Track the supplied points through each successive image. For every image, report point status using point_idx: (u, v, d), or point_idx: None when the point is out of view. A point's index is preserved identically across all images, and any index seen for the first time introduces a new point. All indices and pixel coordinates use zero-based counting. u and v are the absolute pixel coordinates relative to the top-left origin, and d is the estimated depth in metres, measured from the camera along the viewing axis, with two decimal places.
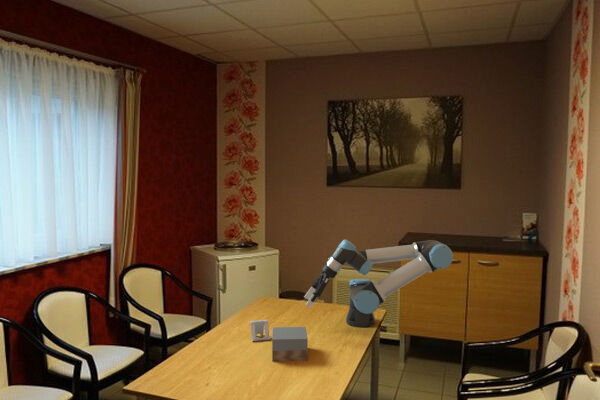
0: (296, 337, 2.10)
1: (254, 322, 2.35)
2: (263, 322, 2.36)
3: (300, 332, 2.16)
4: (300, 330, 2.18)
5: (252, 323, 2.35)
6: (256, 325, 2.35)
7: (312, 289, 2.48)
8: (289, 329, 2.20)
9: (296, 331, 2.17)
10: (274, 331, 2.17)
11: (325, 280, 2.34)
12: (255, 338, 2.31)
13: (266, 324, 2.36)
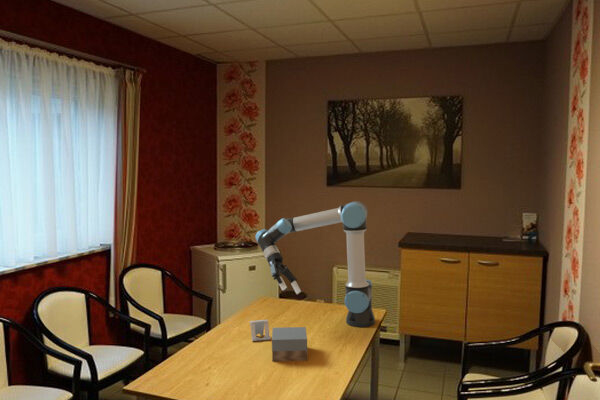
0: (296, 337, 2.10)
1: (254, 322, 2.35)
2: (263, 322, 2.36)
3: (300, 332, 2.16)
4: (300, 331, 2.18)
5: (252, 323, 2.35)
6: (256, 325, 2.35)
7: (293, 283, 2.44)
8: (289, 329, 2.19)
9: (296, 331, 2.17)
10: (274, 331, 2.17)
11: (270, 263, 2.38)
12: (255, 338, 2.31)
13: (266, 324, 2.36)
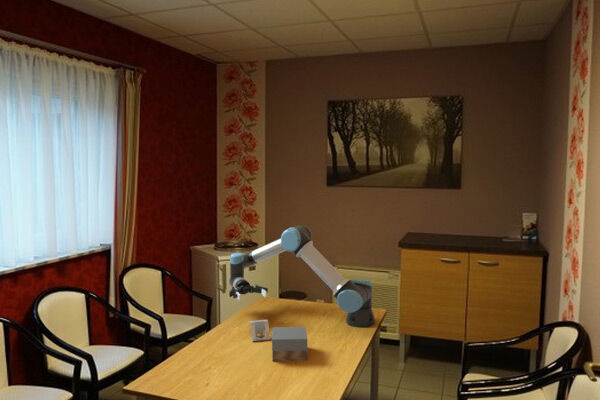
0: (296, 337, 2.10)
1: (254, 322, 2.35)
2: (263, 322, 2.36)
3: (300, 332, 2.16)
4: (300, 330, 2.18)
5: (252, 323, 2.35)
6: (256, 325, 2.35)
7: (262, 292, 2.51)
8: (289, 329, 2.20)
9: (296, 331, 2.17)
10: (274, 331, 2.17)
11: None
12: (255, 338, 2.31)
13: (266, 324, 2.36)
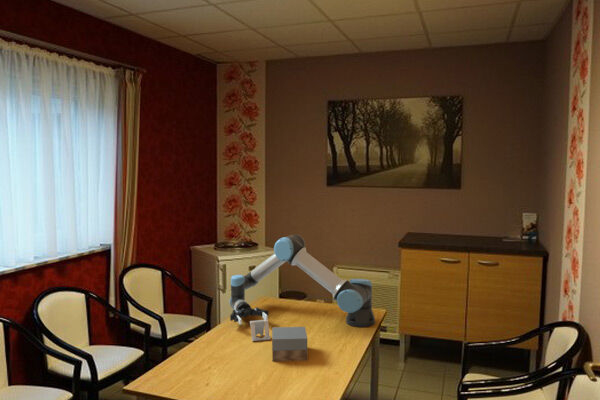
0: (296, 336, 2.11)
1: (254, 322, 2.35)
2: (263, 322, 2.36)
3: (300, 332, 2.16)
4: (300, 330, 2.18)
5: (252, 323, 2.35)
6: (256, 325, 2.35)
7: (262, 315, 2.51)
8: (288, 329, 2.20)
9: (296, 331, 2.18)
10: (274, 331, 2.17)
11: None
12: (255, 338, 2.31)
13: (266, 324, 2.36)
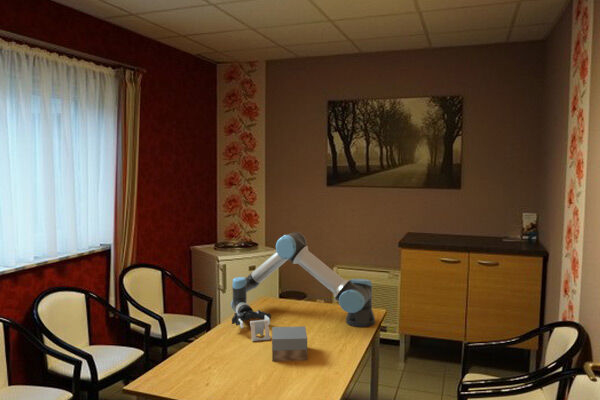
0: (296, 336, 2.10)
1: (254, 322, 2.35)
2: (263, 322, 2.36)
3: (300, 331, 2.16)
4: (300, 330, 2.18)
5: (252, 323, 2.35)
6: (256, 325, 2.35)
7: (265, 318, 2.47)
8: (289, 329, 2.20)
9: (296, 330, 2.18)
10: (274, 331, 2.17)
11: None
12: (255, 338, 2.31)
13: (266, 324, 2.36)
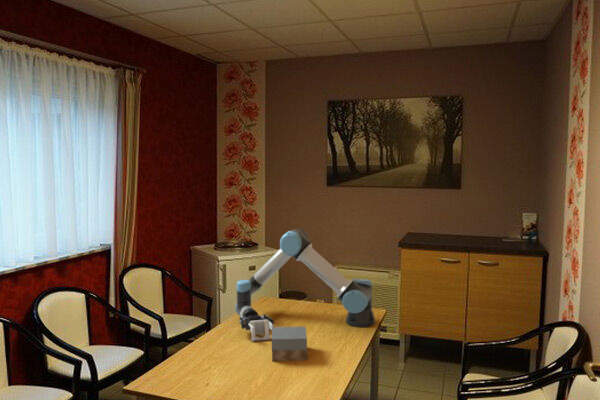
0: (296, 336, 2.10)
1: (254, 322, 2.35)
2: (263, 322, 2.36)
3: (300, 332, 2.16)
4: (300, 330, 2.18)
5: (252, 323, 2.34)
6: (256, 325, 2.35)
7: None
8: (289, 329, 2.20)
9: (296, 330, 2.18)
10: (274, 331, 2.18)
11: (240, 321, 2.43)
12: (255, 338, 2.31)
13: (266, 324, 2.36)
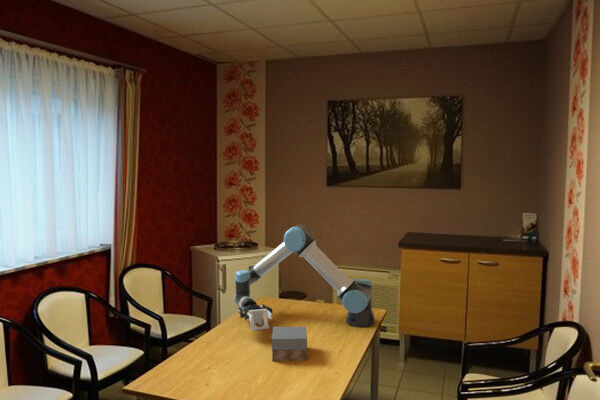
0: (296, 336, 2.11)
1: (253, 311, 2.35)
2: (262, 311, 2.36)
3: (300, 332, 2.16)
4: (300, 330, 2.18)
5: (251, 312, 2.34)
6: (255, 314, 2.35)
7: None
8: (289, 329, 2.20)
9: (297, 330, 2.18)
10: (274, 331, 2.18)
11: (239, 311, 2.42)
12: (254, 327, 2.30)
13: (265, 313, 2.36)
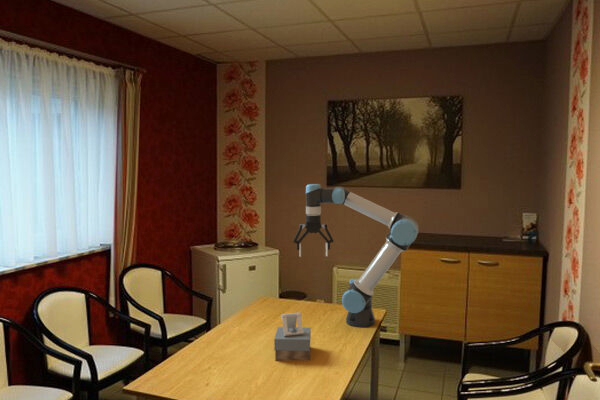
0: (299, 337, 2.10)
1: (286, 315, 2.15)
2: (296, 315, 2.16)
3: (304, 332, 2.16)
4: (304, 331, 2.18)
5: (284, 316, 2.15)
6: (288, 318, 2.16)
7: (326, 244, 2.48)
8: None
9: None
10: (278, 331, 2.18)
11: None
12: (287, 333, 2.11)
13: (299, 317, 2.16)
